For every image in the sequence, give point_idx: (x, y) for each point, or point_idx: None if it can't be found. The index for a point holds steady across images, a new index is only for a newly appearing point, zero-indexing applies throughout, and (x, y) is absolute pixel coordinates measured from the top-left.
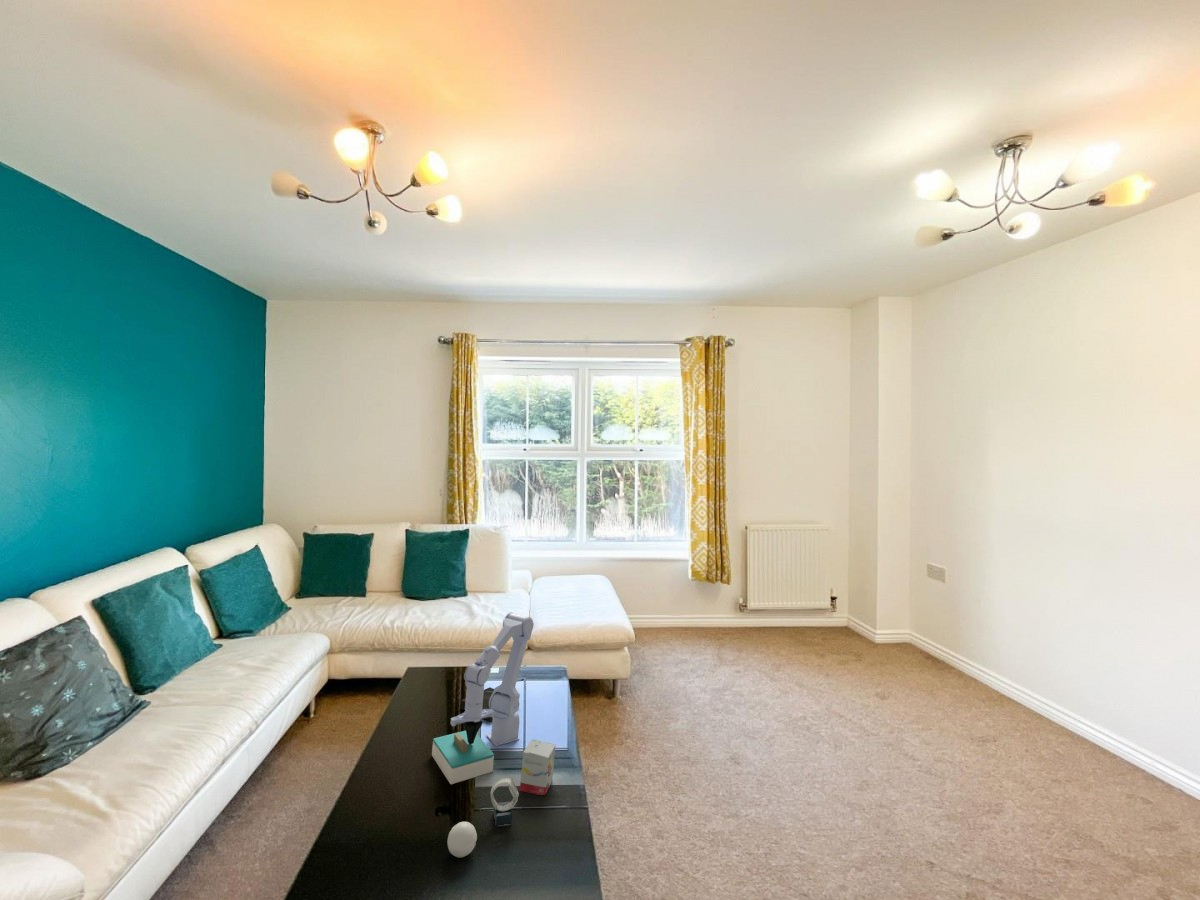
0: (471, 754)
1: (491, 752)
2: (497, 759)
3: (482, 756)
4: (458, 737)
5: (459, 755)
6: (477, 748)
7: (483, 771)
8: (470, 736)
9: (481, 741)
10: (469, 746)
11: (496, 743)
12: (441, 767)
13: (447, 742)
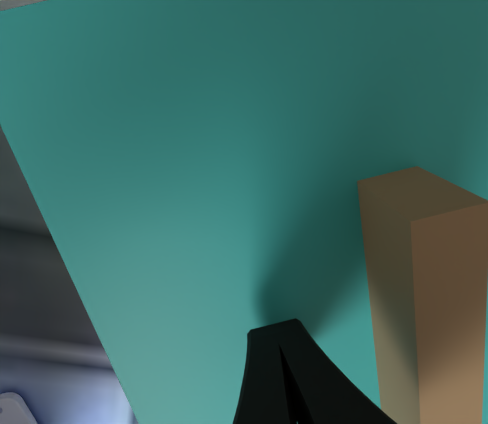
0: (314, 114)
1: (2, 86)
2: (3, 223)
3: (162, 8)
4: (463, 416)
5: (467, 131)
6: (206, 239)
7: None
8: (347, 390)
9: (136, 370)
10: (294, 299)
11: (5, 411)
12: None
13: (483, 397)
